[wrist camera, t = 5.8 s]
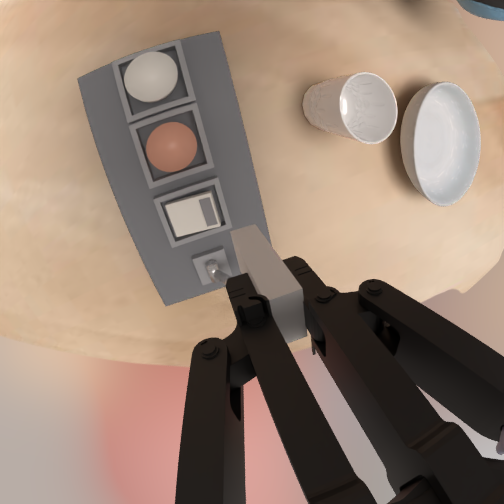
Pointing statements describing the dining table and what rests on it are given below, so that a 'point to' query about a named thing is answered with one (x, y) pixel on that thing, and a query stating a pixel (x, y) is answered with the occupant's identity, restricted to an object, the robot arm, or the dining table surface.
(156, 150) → the terracotta button
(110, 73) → the switch panel
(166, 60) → the cream button
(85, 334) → the dining table surface
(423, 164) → the serving bowl
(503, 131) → the dining table surface
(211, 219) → the rocker switch
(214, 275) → the toggle lever
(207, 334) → the dining table surface
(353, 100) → the white cup
